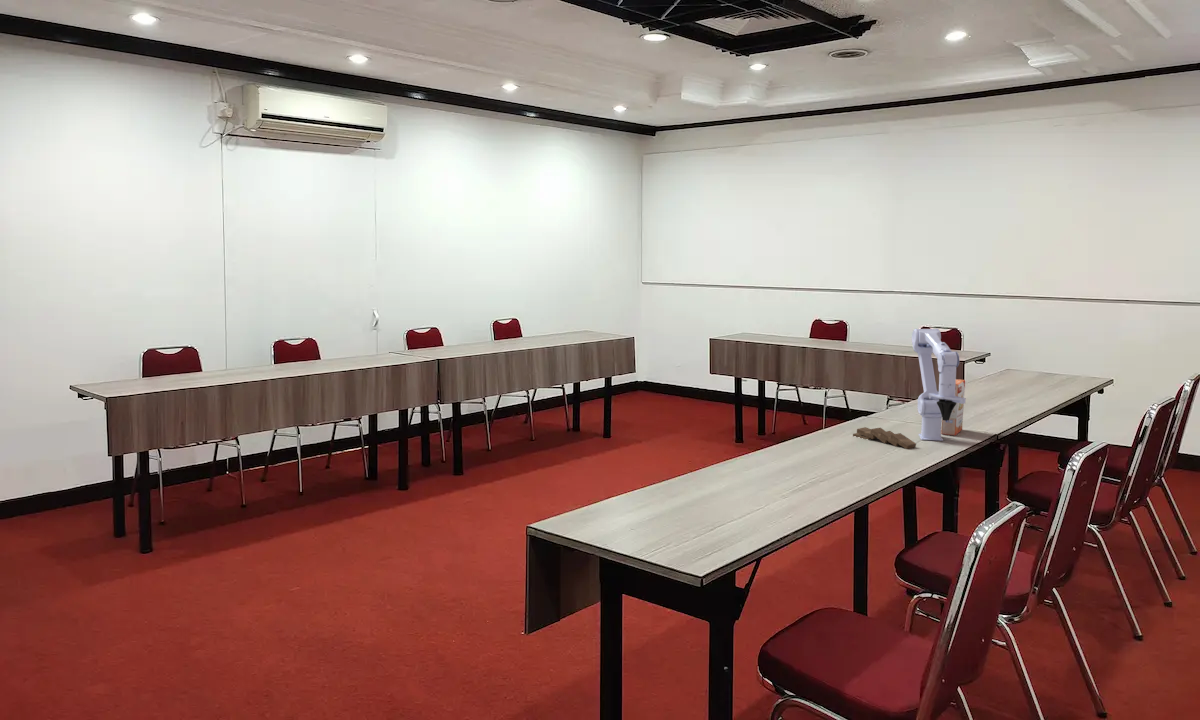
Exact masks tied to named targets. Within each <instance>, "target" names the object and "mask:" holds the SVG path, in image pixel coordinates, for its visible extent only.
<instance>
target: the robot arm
mask: <svg viewBox="0 0 1200 720" xmlns="http://www.w3.org/2000/svg"><path fill="white" fill-rule="evenodd" d="M941 339H942V334H941V331H940V329H939V328H914V329H913V330H912V332H911V345H912V349H913V351H914V352H915V353H916V354H917V357H918V362H919V369H920V374H921V375H920V376H921V383H922V387H923V392H922V393H920V394H919V396H918V398H917V412H918V414H919V415H920V416H921V431H920V433H918V437H919V438H920V440H922V441H937V442H938V441H940V442H941V441H944V439H943V436H942V434H941V429H942V419H943V420H944V421H947V420H949V419H950V415H951V413H952V410H953V408H954V407H955V405H956V403H960V404H964V405H965V404H966V397H964V398H962V397H958V396H955V387H956V379H957V368H958V367H959V365H960V354H959V352H958V351H952V350H951V348H950V347H949V345H948V344H947V343H946V342H945V341H942V340H941ZM932 354H934V356H935V358H936V359H937V361H936V362H937V369H938V370H937V371H938V373H939V377H938V388H937V383H936V377H935V369H934V363H933V357H932ZM947 399H950V400H947Z"/></svg>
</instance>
